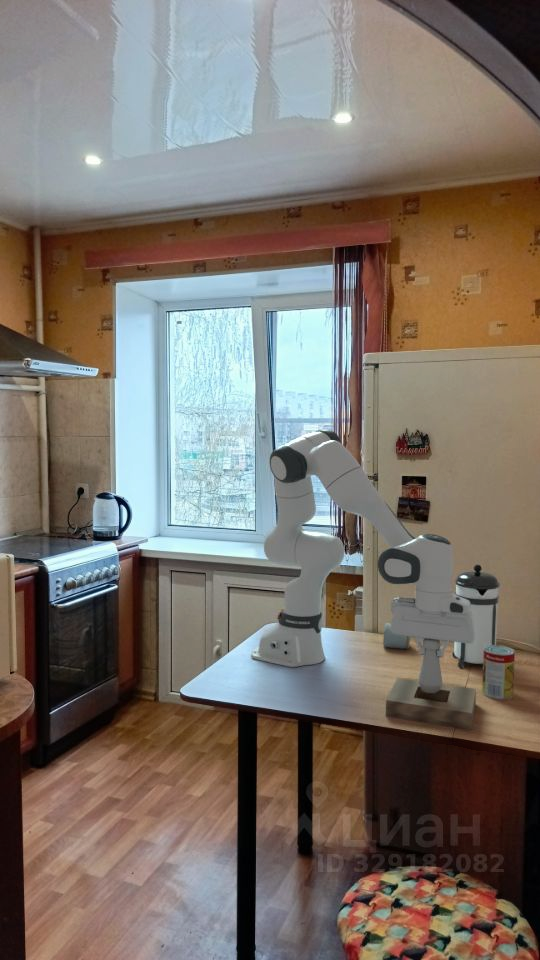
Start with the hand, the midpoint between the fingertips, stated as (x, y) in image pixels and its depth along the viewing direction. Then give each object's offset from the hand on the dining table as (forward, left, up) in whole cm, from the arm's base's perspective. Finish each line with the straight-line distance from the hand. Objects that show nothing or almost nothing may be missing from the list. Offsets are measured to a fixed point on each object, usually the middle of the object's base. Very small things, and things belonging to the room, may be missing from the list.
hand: (431, 655), depth 165 cm
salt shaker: (0, 0, -9) cm, 9 cm away
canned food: (+15, +18, -14) cm, 28 cm away
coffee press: (+7, +42, -14) cm, 45 cm away
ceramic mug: (-17, +48, -14) cm, 53 cm away
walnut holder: (0, +1, -14) cm, 14 cm away
